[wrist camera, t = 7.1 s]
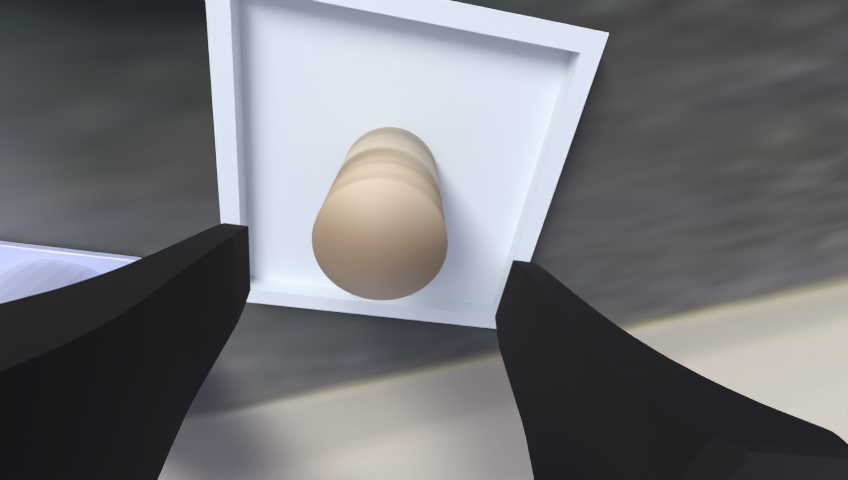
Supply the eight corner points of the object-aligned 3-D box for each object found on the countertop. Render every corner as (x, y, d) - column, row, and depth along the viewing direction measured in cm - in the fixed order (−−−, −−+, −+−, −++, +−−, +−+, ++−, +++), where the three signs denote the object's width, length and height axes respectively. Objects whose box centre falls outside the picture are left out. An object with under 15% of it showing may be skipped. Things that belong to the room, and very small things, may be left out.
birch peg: (430, 218, 19) (438, 304, 13) (343, 211, 19) (312, 295, 13) (441, 132, 17) (456, 188, 11) (345, 122, 17) (310, 174, 11)
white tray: (500, 311, 23) (506, 330, 21) (237, 281, 21) (226, 299, 20) (592, 31, 16) (609, 33, 15) (220, -44, 14) (202, -51, 13)
